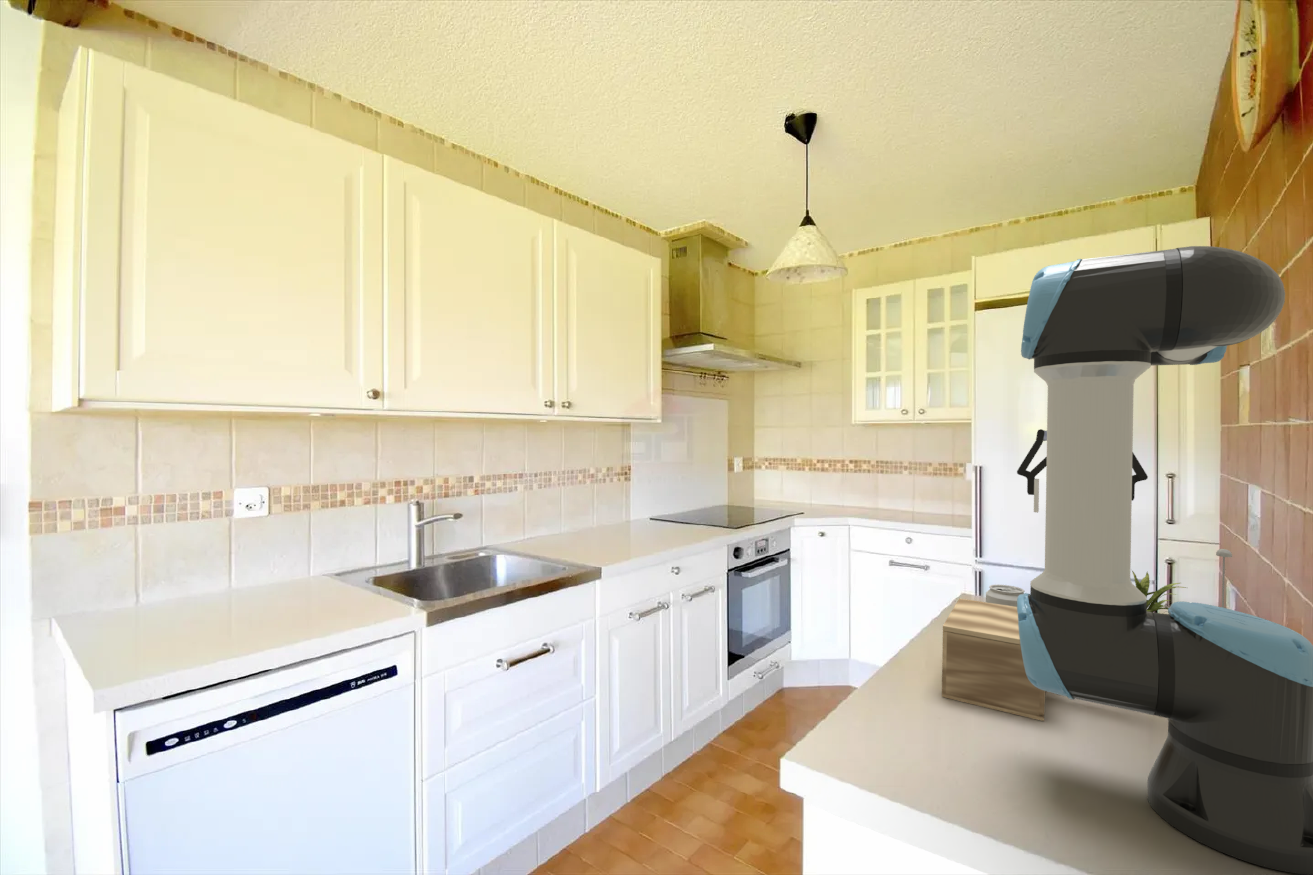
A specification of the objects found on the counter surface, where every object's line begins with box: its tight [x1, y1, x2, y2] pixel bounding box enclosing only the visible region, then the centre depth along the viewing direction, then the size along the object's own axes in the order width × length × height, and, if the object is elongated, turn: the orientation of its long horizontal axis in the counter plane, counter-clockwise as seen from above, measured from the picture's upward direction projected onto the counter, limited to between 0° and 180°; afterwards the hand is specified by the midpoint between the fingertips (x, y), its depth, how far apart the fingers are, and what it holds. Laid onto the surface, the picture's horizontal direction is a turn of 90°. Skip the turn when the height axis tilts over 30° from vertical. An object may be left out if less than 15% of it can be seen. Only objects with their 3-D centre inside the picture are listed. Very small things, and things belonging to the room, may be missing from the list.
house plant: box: [1131, 570, 1187, 614], centre depth 116 cm, size 14×14×16 cm
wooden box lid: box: [942, 598, 1020, 645], centre depth 98 cm, size 20×24×6 cm
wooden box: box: [941, 630, 1046, 722], centre depth 101 cm, size 20×14×11 cm
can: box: [985, 584, 1026, 607], centre depth 120 cm, size 8×8×12 cm
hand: (1078, 514), depth 113 cm, fingers open, 13 cm apart
